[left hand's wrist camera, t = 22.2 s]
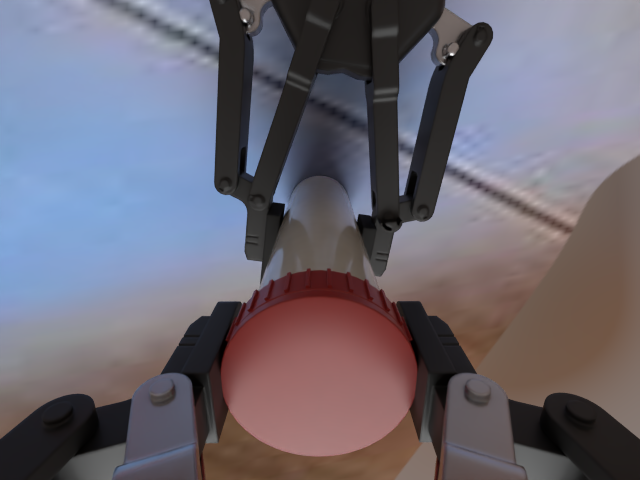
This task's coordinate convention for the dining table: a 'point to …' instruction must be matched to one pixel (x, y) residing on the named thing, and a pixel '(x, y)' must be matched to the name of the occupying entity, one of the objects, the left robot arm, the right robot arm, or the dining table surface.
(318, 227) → the jar
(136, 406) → the left robot arm
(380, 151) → the right robot arm
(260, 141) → the dining table surface
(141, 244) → the dining table surface
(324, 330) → the lid
